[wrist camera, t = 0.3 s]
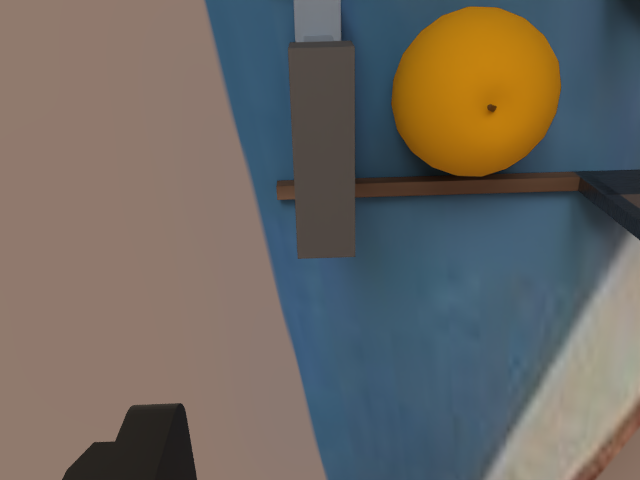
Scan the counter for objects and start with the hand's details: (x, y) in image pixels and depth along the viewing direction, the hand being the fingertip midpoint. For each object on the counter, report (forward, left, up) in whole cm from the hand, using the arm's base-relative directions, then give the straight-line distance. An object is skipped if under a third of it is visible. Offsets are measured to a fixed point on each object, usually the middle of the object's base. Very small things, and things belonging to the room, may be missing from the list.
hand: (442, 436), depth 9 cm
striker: (-1, -2, -25) cm, 25 cm away
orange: (-1, +6, -26) cm, 26 cm away
